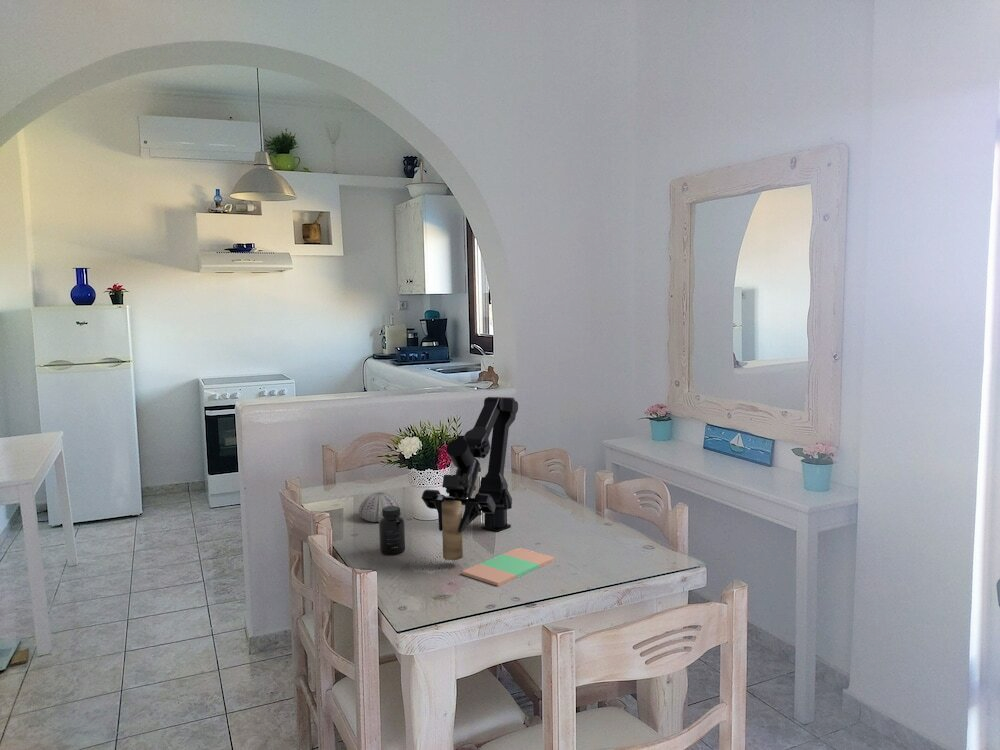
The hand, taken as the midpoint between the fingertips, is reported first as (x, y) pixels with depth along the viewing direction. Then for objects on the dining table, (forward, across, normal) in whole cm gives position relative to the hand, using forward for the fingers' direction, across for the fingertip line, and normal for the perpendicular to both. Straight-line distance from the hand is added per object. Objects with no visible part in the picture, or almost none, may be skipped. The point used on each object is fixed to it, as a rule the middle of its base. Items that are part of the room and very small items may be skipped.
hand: (450, 531), depth 183 cm
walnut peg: (+4, 0, +6) cm, 7 cm away
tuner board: (+4, +14, +10) cm, 17 cm away
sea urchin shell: (-16, -38, +30) cm, 51 cm away
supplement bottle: (+2, -20, +11) cm, 23 cm away
